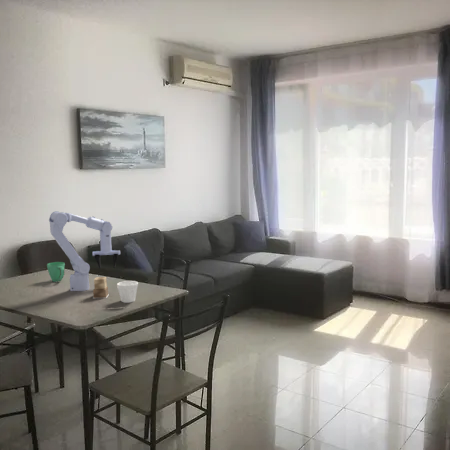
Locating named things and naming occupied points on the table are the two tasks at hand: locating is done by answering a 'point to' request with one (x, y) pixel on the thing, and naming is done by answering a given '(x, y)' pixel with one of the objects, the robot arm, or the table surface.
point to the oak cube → (100, 283)
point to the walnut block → (100, 293)
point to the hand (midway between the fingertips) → (107, 268)
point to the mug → (56, 270)
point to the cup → (127, 290)
